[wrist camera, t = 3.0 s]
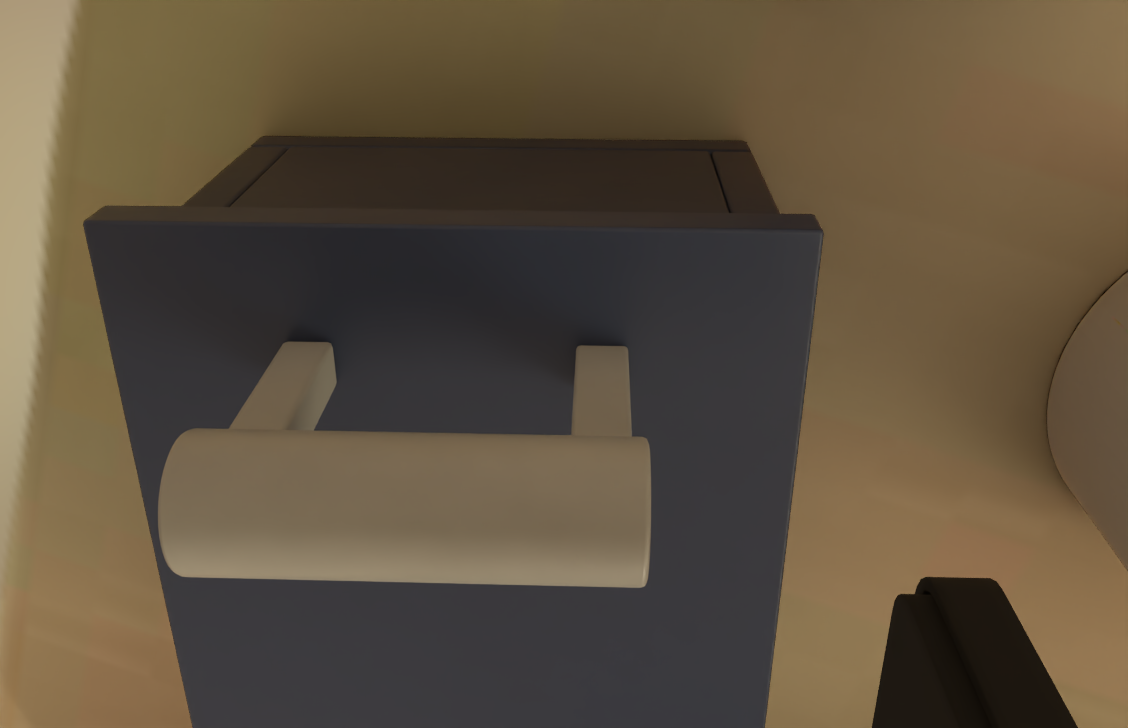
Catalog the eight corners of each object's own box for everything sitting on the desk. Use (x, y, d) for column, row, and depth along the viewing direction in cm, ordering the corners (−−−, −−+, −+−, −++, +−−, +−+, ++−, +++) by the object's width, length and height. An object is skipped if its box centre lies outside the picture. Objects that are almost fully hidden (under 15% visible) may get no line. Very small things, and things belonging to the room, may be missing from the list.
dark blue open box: (260, 134, 21) (116, 258, 15) (747, 139, 20) (808, 267, 14) (325, 629, 26) (241, 866, 20) (706, 639, 26) (738, 882, 20)
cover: (103, 203, 14) (-121, 368, 10) (815, 212, 14) (911, 385, 9) (241, 869, 20) (139, 1154, 16) (738, 885, 20) (775, 1180, 16)
